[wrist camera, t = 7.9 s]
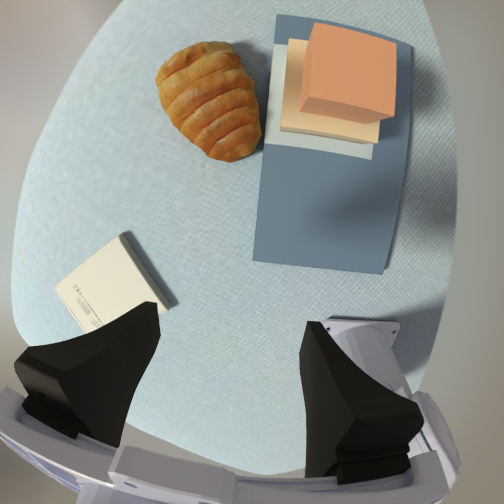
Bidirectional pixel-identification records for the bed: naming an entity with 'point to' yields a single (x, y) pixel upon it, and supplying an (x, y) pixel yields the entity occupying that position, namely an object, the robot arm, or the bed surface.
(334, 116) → the top block
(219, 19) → the bed surface
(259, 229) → the board
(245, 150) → the pastry
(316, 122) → the base block
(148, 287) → the external hard drive
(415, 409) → the robot arm
